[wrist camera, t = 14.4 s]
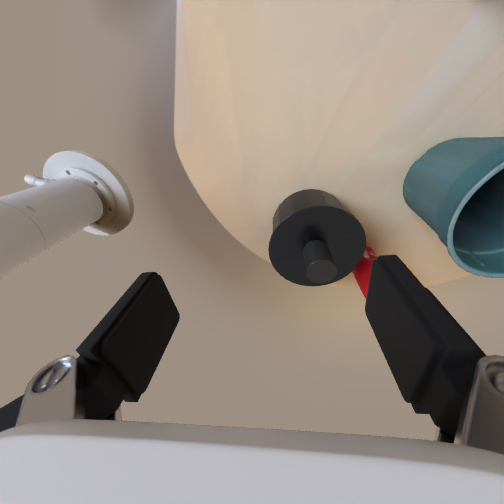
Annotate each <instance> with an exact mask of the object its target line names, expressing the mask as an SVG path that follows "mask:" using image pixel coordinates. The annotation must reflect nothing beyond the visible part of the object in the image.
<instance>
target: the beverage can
mask: <svg viewBox="0 0 504 504" xmlns="http://www.w3.org/2000/svg"><path fill="white" fill-rule="evenodd" d="M377 258H378V257H377V256H376V254H375V253H374V252H373V250H372V249H370V248H369V247H365V252H364V255H363V257H362V259H361V261H360V263H359V264H358V265H357V267H356V268H355V269H354V270H353V271H352V272H353V274H354V276H355V278H356V280H357V282H358V284H359V286H360V289H361V291H362V293H363V295H364V296H365V298H366V299H367V293H368V287H369V281H370V275H371V269H372V263H373V261H374V260H377Z"/></svg>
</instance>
